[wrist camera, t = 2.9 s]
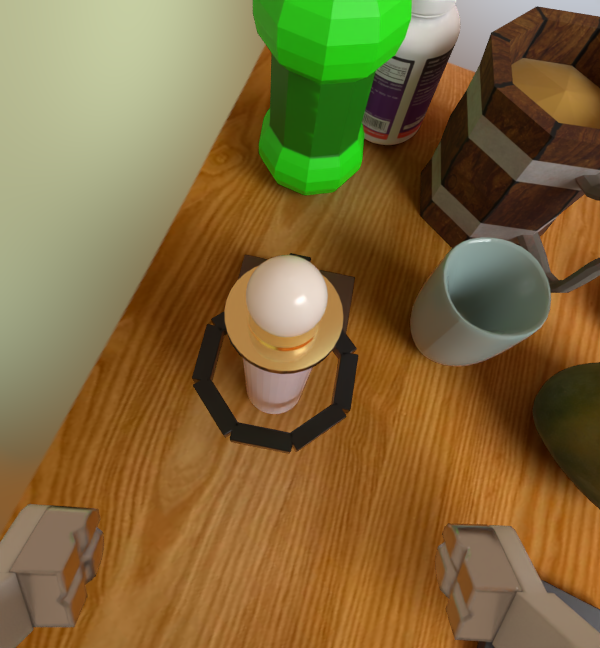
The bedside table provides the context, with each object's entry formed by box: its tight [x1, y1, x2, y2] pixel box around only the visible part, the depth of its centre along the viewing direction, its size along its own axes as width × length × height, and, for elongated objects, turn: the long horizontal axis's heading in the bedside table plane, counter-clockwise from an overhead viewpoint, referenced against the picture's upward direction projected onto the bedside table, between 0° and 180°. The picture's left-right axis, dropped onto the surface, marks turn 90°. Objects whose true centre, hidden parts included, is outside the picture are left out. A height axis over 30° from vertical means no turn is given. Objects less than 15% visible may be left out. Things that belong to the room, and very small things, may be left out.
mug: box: [420, 7, 600, 293], centre depth 37 cm, size 20×14×15 cm
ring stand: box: [192, 253, 358, 454], centre depth 34 cm, size 16×11×7 cm, turn 169°
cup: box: [410, 237, 551, 366], centre depth 35 cm, size 8×8×10 cm
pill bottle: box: [362, 0, 460, 145], centre depth 41 cm, size 8×8×14 cm
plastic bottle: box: [253, 0, 412, 195], centre depth 33 cm, size 10×10×25 cm
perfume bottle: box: [225, 255, 343, 414], centre depth 28 cm, size 6×6×20 cm
